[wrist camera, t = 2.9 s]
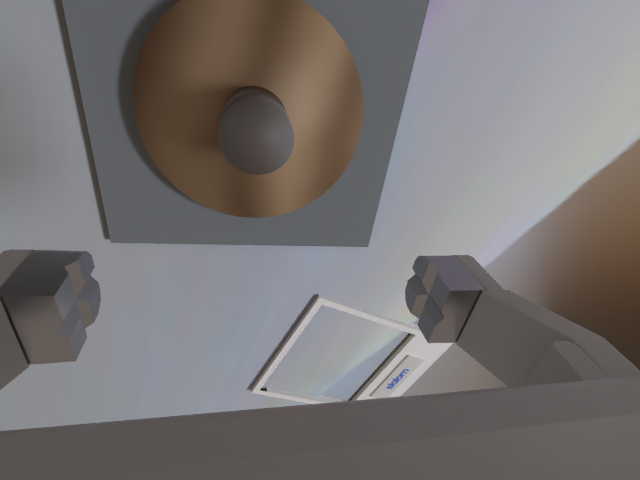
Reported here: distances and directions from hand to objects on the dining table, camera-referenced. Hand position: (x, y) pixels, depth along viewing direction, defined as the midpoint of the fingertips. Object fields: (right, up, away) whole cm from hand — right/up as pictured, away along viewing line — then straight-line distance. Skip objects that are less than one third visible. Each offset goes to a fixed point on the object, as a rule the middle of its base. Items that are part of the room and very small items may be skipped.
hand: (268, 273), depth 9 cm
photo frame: (+5, -13, +31) cm, 34 cm away
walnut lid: (-3, +9, +14) cm, 17 cm away
